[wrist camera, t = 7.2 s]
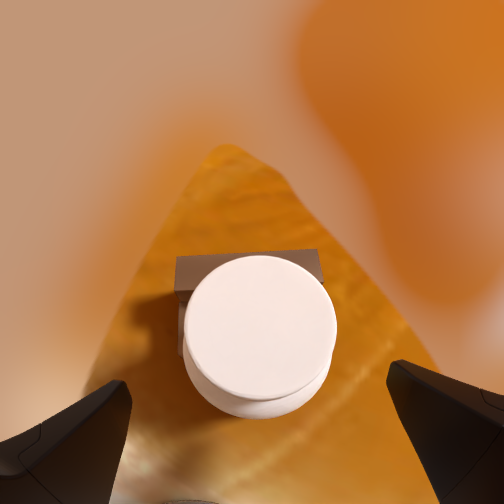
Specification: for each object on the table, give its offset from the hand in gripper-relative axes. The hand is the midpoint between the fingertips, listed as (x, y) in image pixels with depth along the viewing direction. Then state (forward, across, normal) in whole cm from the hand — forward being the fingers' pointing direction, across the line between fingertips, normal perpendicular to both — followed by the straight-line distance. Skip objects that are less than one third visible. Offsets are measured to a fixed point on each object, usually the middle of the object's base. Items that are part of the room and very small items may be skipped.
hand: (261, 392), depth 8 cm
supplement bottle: (+7, 0, +4) cm, 8 cm away
